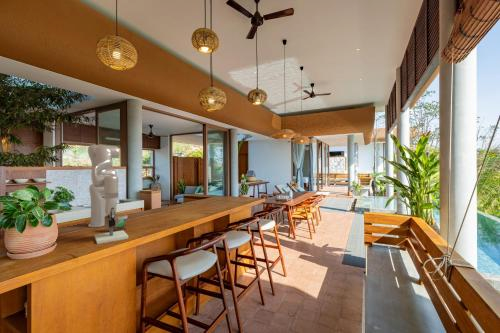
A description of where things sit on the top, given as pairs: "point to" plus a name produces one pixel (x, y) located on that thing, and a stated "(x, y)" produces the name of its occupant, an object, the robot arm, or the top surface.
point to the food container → (121, 223)
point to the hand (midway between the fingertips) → (111, 224)
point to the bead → (108, 221)
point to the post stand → (110, 236)
